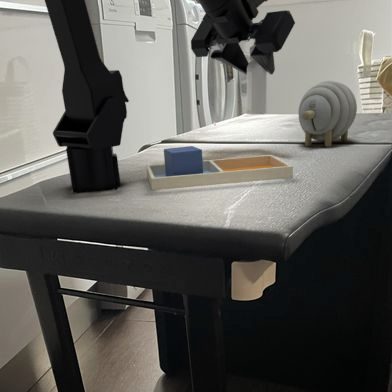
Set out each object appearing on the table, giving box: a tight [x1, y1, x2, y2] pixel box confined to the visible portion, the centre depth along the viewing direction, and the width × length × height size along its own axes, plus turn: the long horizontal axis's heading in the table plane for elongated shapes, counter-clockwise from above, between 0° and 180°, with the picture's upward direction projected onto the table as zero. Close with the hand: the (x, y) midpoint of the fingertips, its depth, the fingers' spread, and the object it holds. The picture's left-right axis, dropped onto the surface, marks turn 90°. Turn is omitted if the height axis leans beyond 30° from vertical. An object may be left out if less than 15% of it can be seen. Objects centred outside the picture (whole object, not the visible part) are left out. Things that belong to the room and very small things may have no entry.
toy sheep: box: [298, 80, 358, 148], centre depth 104 cm, size 11×17×11 cm, turn 148°
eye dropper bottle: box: [246, 41, 268, 115], centre depth 97 cm, size 4×6×12 cm
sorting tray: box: [145, 154, 294, 191], centre depth 81 cm, size 20×11×2 cm, turn 99°
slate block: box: [163, 145, 204, 177], centre depth 79 cm, size 4×4×4 cm
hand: (261, 72), depth 98 cm, fingers closed on eye dropper bottle, 5 cm apart
